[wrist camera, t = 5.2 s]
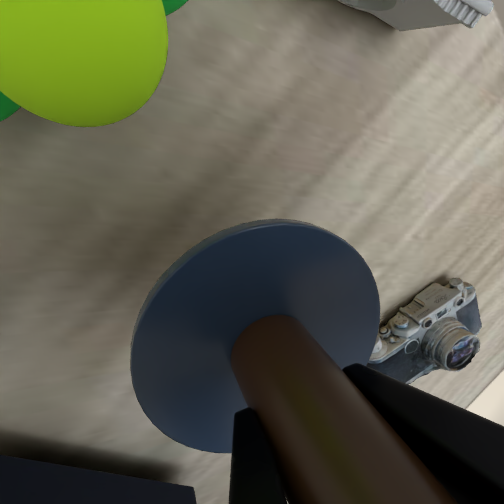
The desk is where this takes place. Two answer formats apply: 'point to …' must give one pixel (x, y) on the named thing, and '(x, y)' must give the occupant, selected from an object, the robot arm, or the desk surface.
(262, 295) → the lid
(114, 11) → the molecule model
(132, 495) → the speaker
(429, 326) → the camera
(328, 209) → the desk surface
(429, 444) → the robot arm
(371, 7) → the grey ridged-top pillar
